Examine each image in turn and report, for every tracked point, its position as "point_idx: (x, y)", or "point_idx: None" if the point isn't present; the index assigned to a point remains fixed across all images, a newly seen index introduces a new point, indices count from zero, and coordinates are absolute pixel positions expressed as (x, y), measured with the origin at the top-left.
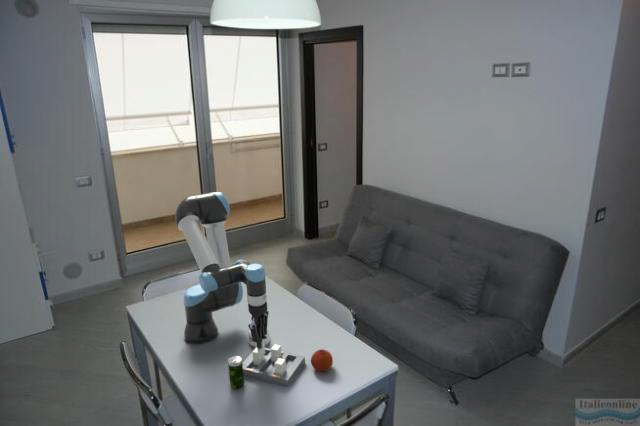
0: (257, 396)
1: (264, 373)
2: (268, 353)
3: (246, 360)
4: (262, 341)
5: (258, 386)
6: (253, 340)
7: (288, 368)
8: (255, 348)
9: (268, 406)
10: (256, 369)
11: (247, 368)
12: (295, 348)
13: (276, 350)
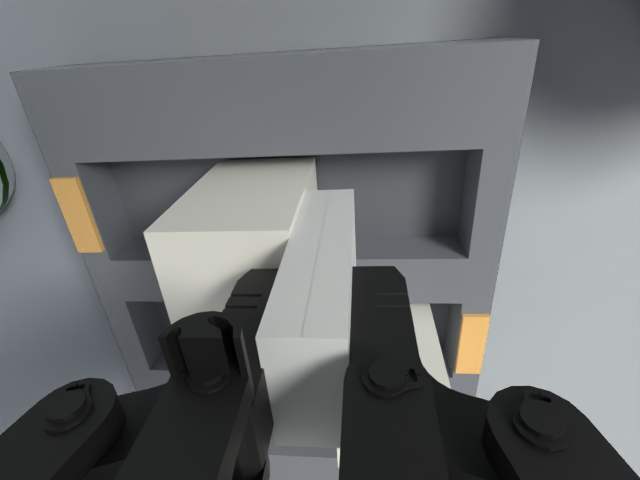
0: (14, 333)
1: (131, 347)
2: (463, 203)
3: (175, 84)
4: (280, 436)
5: (82, 298)
6: (9, 447)
7: (278, 457)
8: (243, 231)
9: (10, 407)
10: (126, 270)
11: (69, 190)
12: (630, 347)
13: (338, 457)
